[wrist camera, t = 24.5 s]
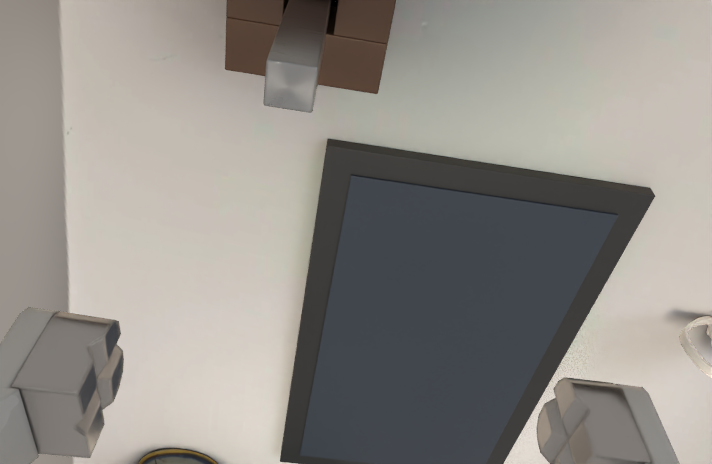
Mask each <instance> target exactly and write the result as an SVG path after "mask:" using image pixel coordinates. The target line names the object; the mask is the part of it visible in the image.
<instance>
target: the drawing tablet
mask: <svg viewBox="0 0 712 464" xmlns="http://www.w3.org/2000/svg"><path fill="white" fill-rule="evenodd" d="M654 197H655V195H654V193H653V192H652V190H651V189H650V188H644V187H638V186H631V185H625V184H618V183H612V182H605V181H599V180H592V179H586V178H579V177H572V176H566V175H559V174H553V173H546V172H540V171H533V170H527V169H520V168H514V167H507V166H501V165H494V164H488V163H481V162H474V161H468V160H461V159H455V158H448V157H442V156H435V155H429V154H422V153H416V152H409V151H403V150H396V149H389V148H383V147H376V146H370V145H363V144H357V143H350V142H344V141H337V140H331V139H328V142H327V148H326V155H325V162H324V169H323V175H322V182H321V189H320V195H319V202H318V209H317V216H316V222H315V229H314V236H313V242H312V249H311V256H310V263H309V269H308V276H307V283H306V289H305V296H304V303H303V310H302V316H301V323H300V330H299V336H298V343H297V350H296V357H295V363H294V370H293V377H292V384H291V390H290V397H289V404H288V410H287V417H286V424H285V431H284V437H283V444H282V451H281V458H280V462H289V463H298V464H503V463H504V461H505V459H506V458H507V456H508V454H509V452H510V451H511V449H512V447H513V445H514V444H515V442H516V440H517V438H518V437H519V435H520V433H521V431H522V430H523V428H524V426H525V424H526V423H527V421H528V419H529V417H530V415H531V414H532V412H533V410H534V408H535V407H536V405H537V403H538V401H539V400H540V398H541V396H542V394H543V393H544V391H545V389H546V387H547V386H548V384H549V382H550V380H551V378H552V377H553V375H554V373H555V371H556V370H557V368H558V366H559V364H560V363H561V361H562V359H563V357H564V356H565V354H566V352H567V350H568V349H569V347H570V345H571V343H572V342H573V340H574V338H575V336H576V334H577V333H578V331H579V329H580V327H581V326H582V324H583V322H584V320H585V319H586V317H587V315H588V313H589V312H590V310H591V308H592V306H593V305H594V303H595V301H596V299H597V298H598V296H599V294H600V292H601V290H602V289H603V287H604V285H605V283H606V282H607V280H608V278H609V276H610V275H611V273H612V271H613V269H614V268H615V266H616V264H617V262H618V261H619V259H620V257H621V255H622V254H623V252H624V250H625V248H626V246H627V245H628V243H629V241H630V239H631V238H632V236H633V234H634V232H635V231H636V229H637V227H638V225H639V224H640V222H641V220H642V218H643V217H644V215H645V213H646V211H647V210H648V208H649V206H650V204H651V202H652V201H653V199H654Z"/></svg>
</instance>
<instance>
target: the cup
mask: <svg viewBox="0 0 712 464" xmlns="http://www.w3.org/2000/svg"><path fill="white" fill-rule="evenodd" d="M703 324H706V325H708V328H707V331H706V334H707V335H708V336H709V337H710V338H712V317H711V316H704V317H699V318H697V319H695V320H694V321H692V322H691V323H689V324H688V325H687V326H686V327H685V328H684V329H683V330H682V332H681V334H680V336H679V337H680V342H681V345H682V347H683V349H684V350H685V352H686V353H687V355H688V356H689V358H690V359H691V360H692V361H693V362H694V364H695V365H696V366H697V367H698V368H699V369H700V370H701V371H703V372H704V373H705V374H706V375H708V376H709V377H710V378H712V365H711V364H709V363H708V362H707V361H706V360H704V358H703V357H702V356H701V355H700V353H699V352H698V351H697V350H696V348H695V347H694V345H693V344H692V342H691V341H690V339H689V334H688V331H689V330H691V329H692V328H694V327H696V326H699V325H703ZM711 346H712V342H711Z"/></svg>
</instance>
